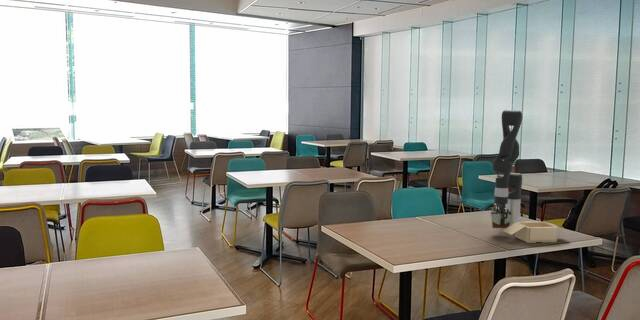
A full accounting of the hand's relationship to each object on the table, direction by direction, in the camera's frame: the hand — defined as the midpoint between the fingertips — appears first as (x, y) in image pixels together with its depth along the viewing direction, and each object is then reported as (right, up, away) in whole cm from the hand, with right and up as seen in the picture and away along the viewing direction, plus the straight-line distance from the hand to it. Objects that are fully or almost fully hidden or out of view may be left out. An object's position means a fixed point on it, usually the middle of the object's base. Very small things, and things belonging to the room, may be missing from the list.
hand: (500, 223), depth 303 cm
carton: (+17, -8, -10) cm, 21 cm away
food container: (0, -2, +1) cm, 2 cm away
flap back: (+26, +1, -9) cm, 28 cm away
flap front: (+8, +1, -12) cm, 14 cm away
